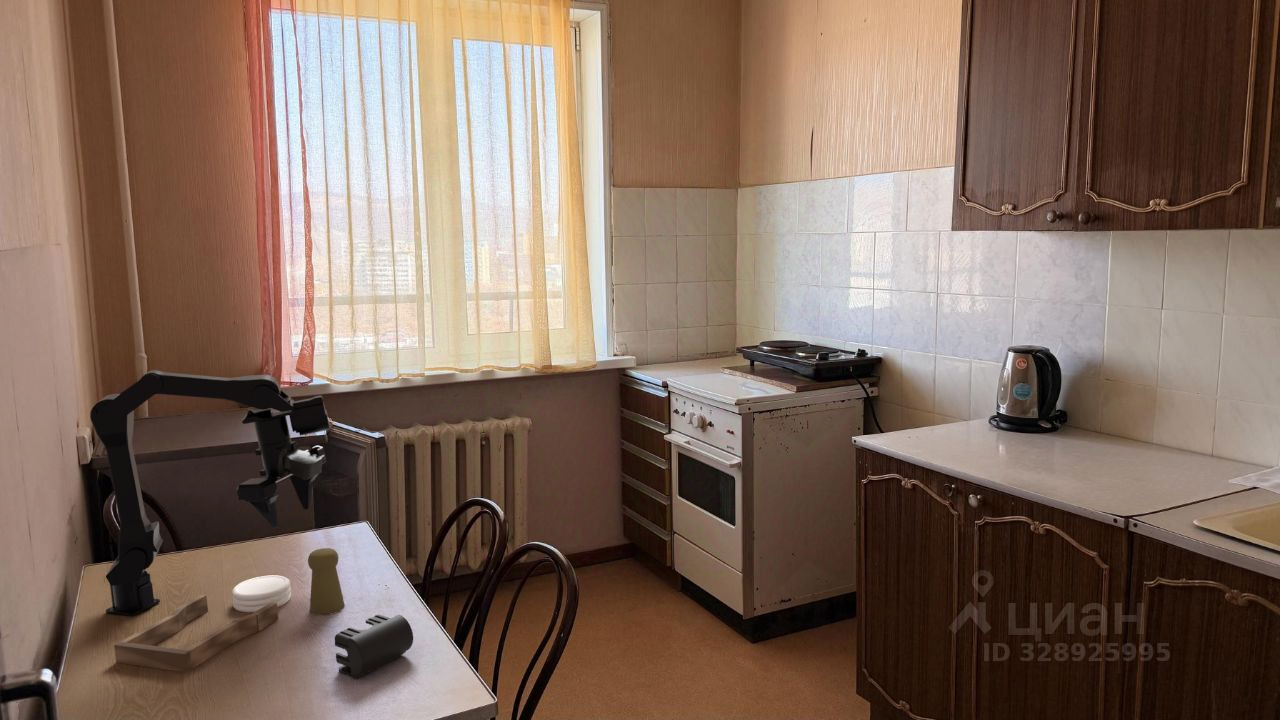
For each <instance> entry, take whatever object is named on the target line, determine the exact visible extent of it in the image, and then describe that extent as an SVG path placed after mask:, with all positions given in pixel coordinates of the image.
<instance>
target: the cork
mask: <svg viewBox="0 0 1280 720" xmlns="http://www.w3.org/2000/svg"><path fill="white" fill-rule="evenodd" d="M338 564H339V554H338V552H337V551H336V550H335V549H333V548H331V547H325V548H318V549H315V550H313V551H312V552H311V553H309V555H308V559H307V565H308V567H309V568H310V569H311V581H310V582H311V583H310V584H311V585H310V597H309V598H310V601H309V613H310V614H312V615H314V616H329V615H333V614H336V613H338V612H340V611H342V610H343V609H345V606H346V604H345V600H344V596H343V591H342V588H341V583H340V579H339V573H338V569H337V565H338Z"/></svg>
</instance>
